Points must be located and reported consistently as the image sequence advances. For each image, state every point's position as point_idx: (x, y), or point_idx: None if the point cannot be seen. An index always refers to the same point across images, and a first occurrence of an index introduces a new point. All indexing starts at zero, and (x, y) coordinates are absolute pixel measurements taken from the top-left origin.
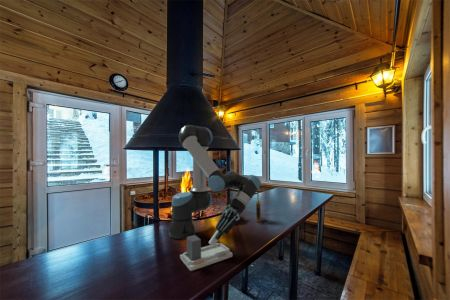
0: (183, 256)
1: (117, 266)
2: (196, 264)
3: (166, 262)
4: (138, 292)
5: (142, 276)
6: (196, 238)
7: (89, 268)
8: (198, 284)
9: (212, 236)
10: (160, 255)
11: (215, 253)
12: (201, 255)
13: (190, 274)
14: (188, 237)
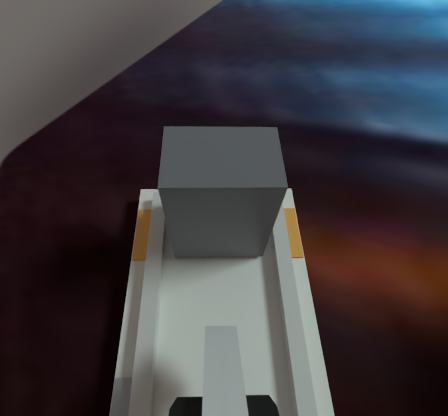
0: None
1: (324, 45)
2: (139, 216)
3: None
4: (147, 64)
5: (223, 79)
6: (201, 169)
7: (343, 9)
8: (34, 192)
9: (241, 375)
10: (354, 143)
11: (188, 387)
12: (220, 281)
13: (121, 191)
14: (258, 133)
